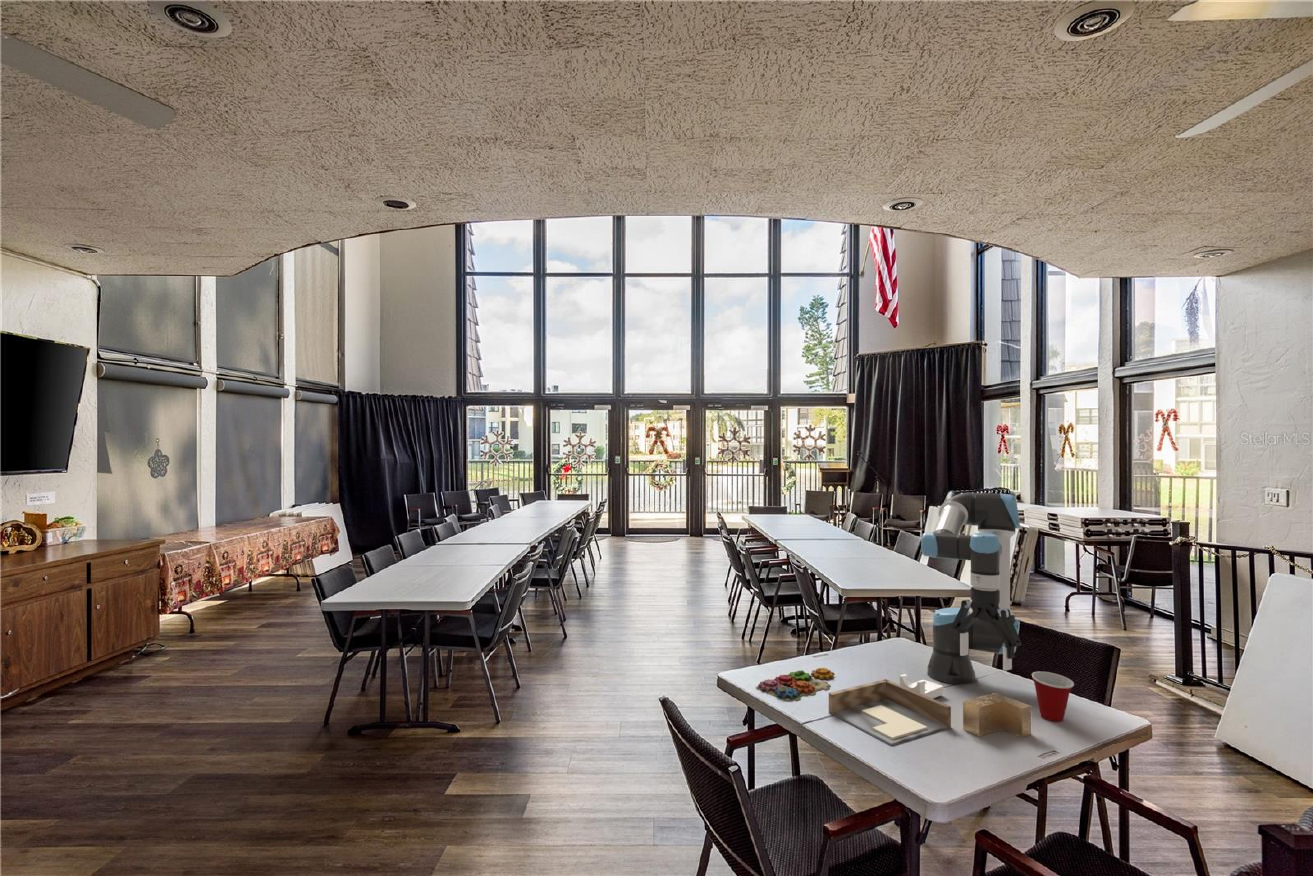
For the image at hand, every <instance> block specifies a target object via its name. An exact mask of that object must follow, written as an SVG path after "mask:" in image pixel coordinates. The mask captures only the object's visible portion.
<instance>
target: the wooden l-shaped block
mask: <svg viewBox="0 0 1313 876" xmlns="http://www.w3.org/2000/svg"><path fill="white" fill-rule="evenodd" d="M962 709H963V711H962V718H963V719H962V721H963V723H962V727H963V728H962V730H963V731H966V732H969V733H970V734H973V735H975V736H977V737H983V736H984V735H988V734H991V733H995V732H997V731H1001V730H1004V731H1006V732H1009V733H1010V734H1014V735H1015V736H1018V737H1020V738H1026V737H1027V736H1031V735H1032V705H1030V704H1027V703H1024V702H1021V701H1019V700H1017V699H1013V698H1011V697H1008V696H1006V695H1003V694H1000V693H998V692H992V693H991V692H990V693H987V694H983V695H980V696H977V697H973V698H971V699H970V698H969V699H966V700H963V701H962Z"/></svg>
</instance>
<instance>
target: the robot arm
mask: <svg viewBox="0 0 1313 876" xmlns="http://www.w3.org/2000/svg"><path fill="white" fill-rule="evenodd" d="M1017 502H1018V501H1017V498H1016V497H1015V495H1013V494H1009V493H1008V494H1007V493H1000V492H999V493H995V492H994V493H991V492H964V493H963V492H962V493H958V494H956V495H953V496H951V497H949V498H948V499H946V500H945V501H944V502H943V503H942V504H941V505H940V508H939V509H938V519H937V522H936V524H935V526H934V529H933V531H932V532H924V533H922V535H921V540H920V542H921V543H920V547H921V548H920V549H921V554H922V556H925V557H929V558H934V559H949V560H961V561H962V560H963V561H970V586H971V587H970V588H969V589H970V599H965V600H964V599H962V600H961V601H960V607H944V608H939V609H937V610H935V611H934V612H933V615H932V622H931V625H932V653H931V656H930V659H929V662H928V665H927V675H928V676H929V677H931V678H932V679H935V680H937V681H939V682H940V681H941V682H944V683H948V684H957V685H962V684H964V685H965V684H971V683H973V682H975V681H976V672H975V670H974V667H973V663H972V659H971V657H970V650H973V651H979V652H985V653H992V654H997V655H1002V670H1003V671H1005V672H1006V671H1009V670H1010V671H1011V670H1012V669H1013V659H1014V658H1015V653H1016V652H1017V651H1016V650H1017V647H1019V646H1020V647H1021V646H1022V645H1023V644H1022V641H1021V639H1020V635H1019V633H1020V632H1019V631H1020V624H1021V623H1020V620H1018V619H1016V614H1015V613H1014V612H1013V611H1012V609H1011V538H1012V537H1013V536H1014V535H1015V534H1016V529H1020V528H1021V523H1020V516H1019V509H1018V508H1019V507H1018V503H1017ZM963 526H974V527H975V526H977V532H975V533H972V534H971V535H969V534H966V535H965V534H960V533H961V531H962V528H963ZM970 609H971V610H972V612H970Z"/></svg>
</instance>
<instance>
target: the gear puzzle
mask: <svg viewBox="0 0 1313 876" xmlns="http://www.w3.org/2000/svg"><path fill="white" fill-rule="evenodd" d="M812 676H813V677H812ZM835 676H836V675H835V672H834V671H832V670H831V669H828V668H826V667H819V668H816V669H814V670H811V673H809V672H805V671H804V670H803V669H801V670H797V671H792V672H789V673H788V674H780V675H779V676H775V678H773V679H772V678H771V679H770V678H768V679H764V681H760V682H759V683H758V686H755V689H756V690H759V691H762V690H763V691H765V694H768V695H772V697H775V698H779V697H780V698H781V699H782V700H783V701H785V702H791V701H792V702H793V701H795V702H797V701H801V700H802V699H801V698H802V697H806V696H815V695H816V693H817V692H819V691H825V692H826V691H829V690H830V689H831V687H832V686H831V684H829V682H828V681H826V680H829V679H831V678H832V679H833V678H834V677H835ZM818 678H819V679H820V680H818ZM823 679H826V680H823Z"/></svg>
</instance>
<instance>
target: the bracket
mask: <svg viewBox="0 0 1313 876" xmlns="http://www.w3.org/2000/svg"><path fill="white" fill-rule="evenodd" d="M899 685H901V686H903V687H906V688H908V689H910V690H913V691H915V692H918V693H920V694H922V695H925V696H927V697H930V698H932V699H935V698H937V697H940V696H943V695H944V686H943V685H940V684H939V683H935V682H932V681H930V680H929V681H928V680H926V679H921V680H918V681H915V682H911V681H910V679H909V677H908V674H905V673H903V674H900V675H899Z"/></svg>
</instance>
